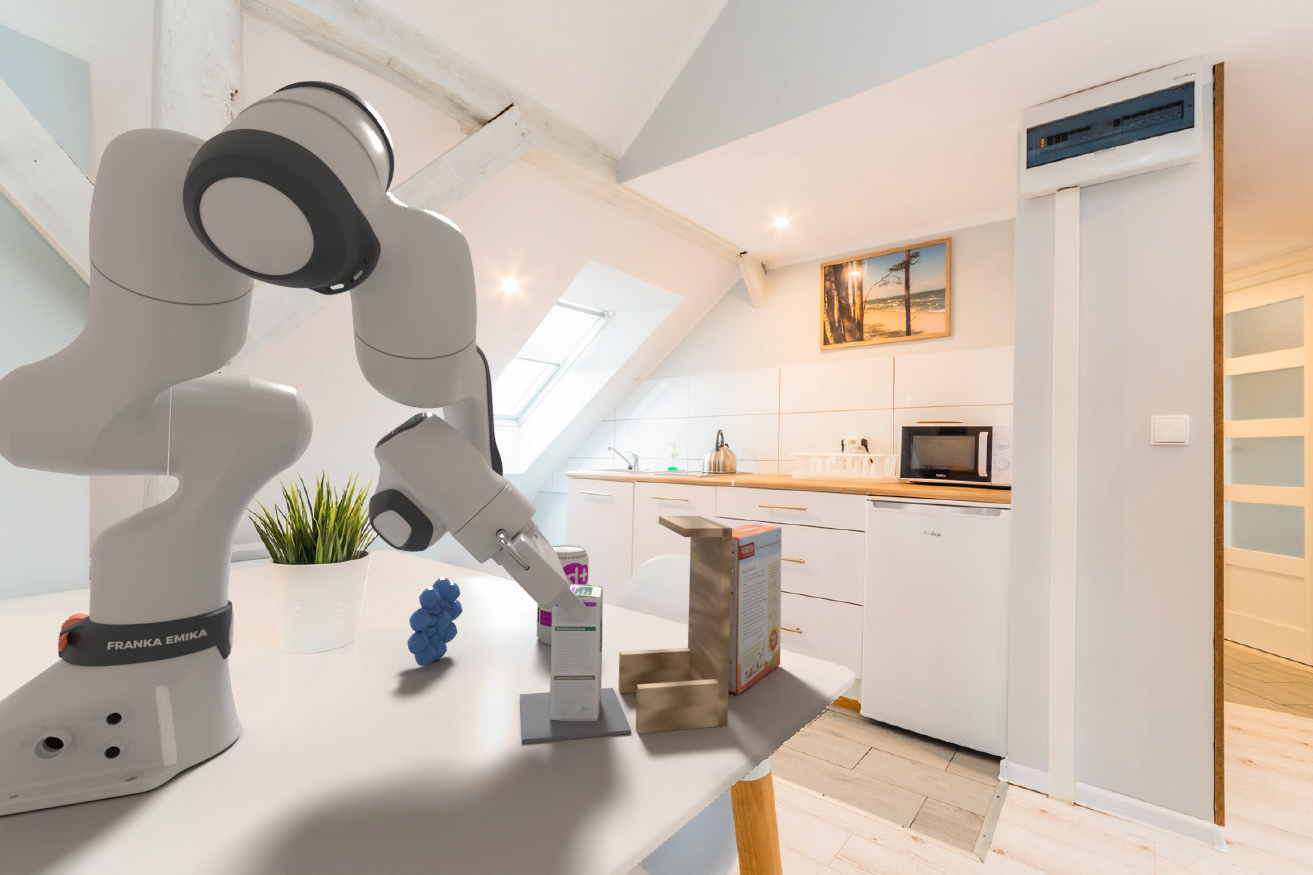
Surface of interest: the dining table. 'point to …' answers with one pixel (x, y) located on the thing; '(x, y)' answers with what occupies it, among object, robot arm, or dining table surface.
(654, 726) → the shelf slot
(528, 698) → the mat
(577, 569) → the supplement can
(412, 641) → the grapes
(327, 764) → the dining table surface
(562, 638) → the syrup box
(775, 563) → the cracker box
